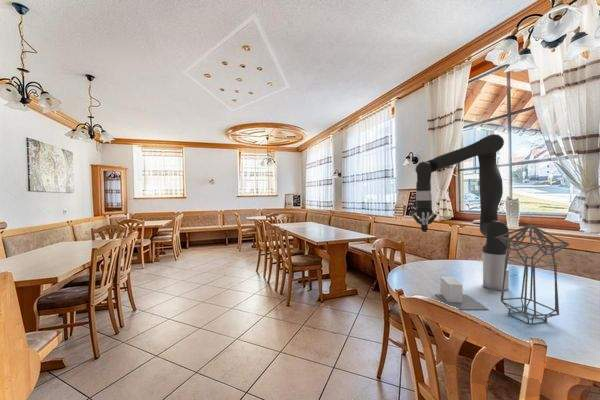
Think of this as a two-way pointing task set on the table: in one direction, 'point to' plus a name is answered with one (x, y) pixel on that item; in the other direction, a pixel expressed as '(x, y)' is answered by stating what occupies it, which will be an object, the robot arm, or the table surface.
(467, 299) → the mat
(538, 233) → the geometric lantern
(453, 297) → the small box
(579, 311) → the table surface
